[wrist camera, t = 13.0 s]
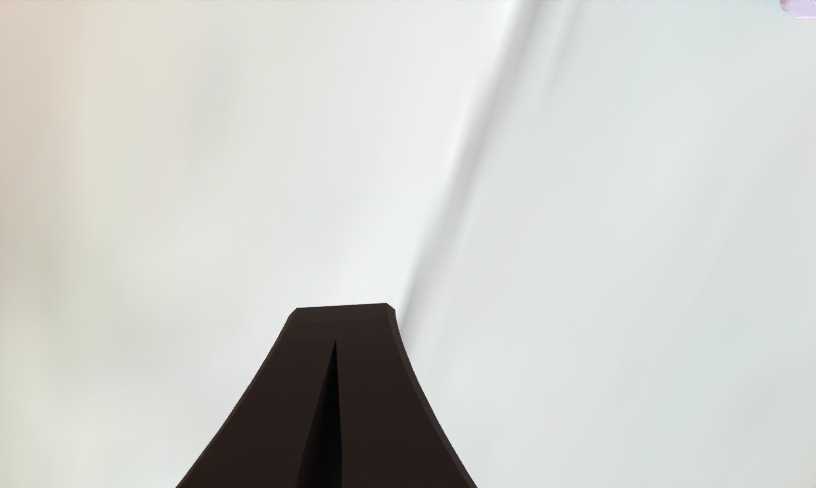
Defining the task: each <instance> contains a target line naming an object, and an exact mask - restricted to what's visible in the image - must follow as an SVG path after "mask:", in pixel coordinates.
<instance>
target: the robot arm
mask: <svg viewBox="0 0 816 488" xmlns="http://www.w3.org/2000/svg"><path fill="white" fill-rule="evenodd" d="M780 5H781V7H782V10H784V11H785V12H786V13H788V14H789V15H791V16H793V17H797V18H816V0H780ZM176 488H477V486H476V485H475V483H474V481H473V480H472V478H471V477H470V475H469V474H468V472H467V470H466V469H465V467H464V465H463V464H462V462H461V460H460V459H459V457H458V455H457V454H456V452H455V450H454V449H453V447H452V445H451V444H450V442H449V440H448V438H447V437H446V435H445V433H444V431H443V429H442V428H441V426H440V424H439V422H438V420H437V418H436V416H435V414H434V412H433V410H432V408H431V406H430V404H429V402H428V400H427V398H426V396H425V394H424V392H423V390H422V388H421V386H420V384H419V382H418V380H417V378H416V375H415V373H414V371H413V368H412V366H411V363H410V361H409V358H408V356H407V353H406V351H405V348H404V345H403V342H402V339H401V336H400V333H399V329H398V325H397V321H396V315H395V309H394V308H392V307H391V306H390V305H389V304H387V303H377V304H359V305H341V306H323V307H305V308H296V309H295V310H294V311H293V312H292V313H291V314H290V315H289V317H288V319H287V321H286V323H285V325H284V327H283V329H282V331H281V332H280V334H279V336H278V338H277V340H276V341H275V343H274V345H273V347H272V348H271V350H270V352H269V354H268V355H267V357H266V359H265V360H264V362H263V364H262V365H261V367H260V369H259V370H258V372H257V373H256V375H255V377H254V378H253V380H252V381H251V383H250V385H249V386H248V388H247V389H246V391H245V392H244V394H243V395H242V397H241V398H240V400H239V401H238V403H237V404H236V406H235V407H234V409H233V410H232V412H231V413H230V415H229V416H228V418H227V419H226V421H225V422H224V424H223V425H222V426H221V428H220V429H219V431H218V432H217V433H216V435H215V436H214V437H213V439H212V440H211V441H210V443H209V444H208V446H207V447H206V448H205V450H204V451H203V452H202V454H201V455H200V456H199V458H198V459H197V460H196V462H195V463H194V464H193V466H192V467H191V468H190V470H189V471H188V472H187V474H186V475H185V476H184V478H183V479H182V480H181V481H180V483H179V484H178V485H177V487H176Z"/></svg>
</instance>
